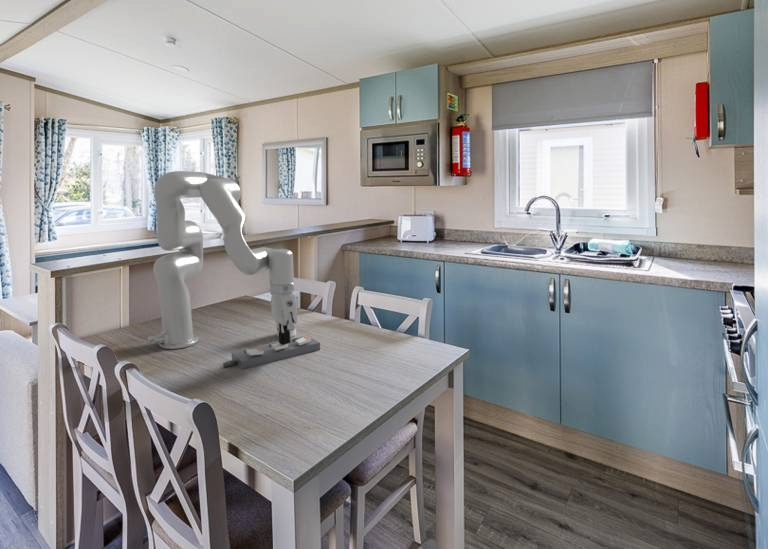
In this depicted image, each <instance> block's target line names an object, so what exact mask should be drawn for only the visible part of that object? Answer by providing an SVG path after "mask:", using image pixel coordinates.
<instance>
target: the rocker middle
mask: <svg viewBox="0 0 768 549" xmlns="http://www.w3.org/2000/svg"><path fill="white" fill-rule="evenodd" d="M276 343H277V342H276ZM287 347H288V344H283V345H282V344H280V343H277V344H273V345H271V348H273V349H274V350H279V349H283V348H287Z"/></svg>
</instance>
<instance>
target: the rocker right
mask: <svg viewBox="0 0 768 549" xmlns="http://www.w3.org/2000/svg"><path fill="white" fill-rule="evenodd" d="M304 336H305V337H303V336H301V337H302V338H300V339H297V340H295V343H296V344H298V345H303V344H305V343H307V342H310V341H311V338H312V337H311V338H309V337H310V336H309V335H304ZM308 336H309V337H308Z"/></svg>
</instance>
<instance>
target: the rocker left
mask: <svg viewBox="0 0 768 549" xmlns="http://www.w3.org/2000/svg"><path fill="white" fill-rule="evenodd" d="M245 349H246V353H247V354H249V355H260V354H263V353H264V351H262V350H261V349H250V348H245Z"/></svg>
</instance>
